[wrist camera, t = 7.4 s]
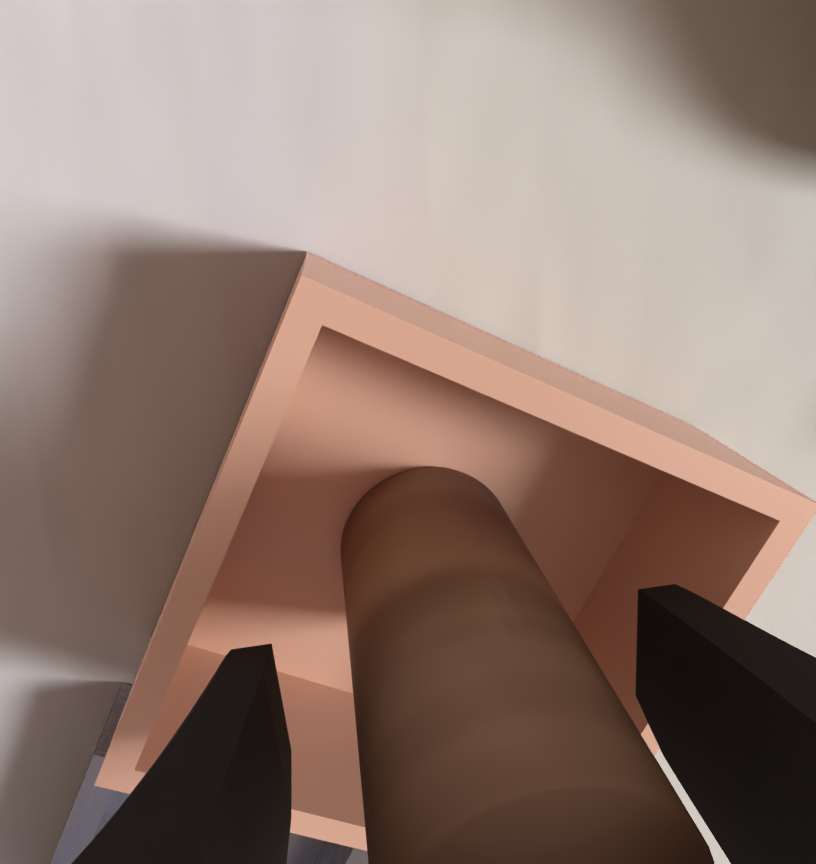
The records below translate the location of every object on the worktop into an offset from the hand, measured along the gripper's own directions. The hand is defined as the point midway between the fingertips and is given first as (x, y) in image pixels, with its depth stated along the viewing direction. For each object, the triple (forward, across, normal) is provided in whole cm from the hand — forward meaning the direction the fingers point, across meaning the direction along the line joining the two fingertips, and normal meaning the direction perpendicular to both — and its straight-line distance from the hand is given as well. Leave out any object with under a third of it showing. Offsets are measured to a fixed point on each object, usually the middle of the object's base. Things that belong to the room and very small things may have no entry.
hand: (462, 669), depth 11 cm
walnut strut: (+4, 0, 0) cm, 4 cm away
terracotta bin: (+5, 0, 0) cm, 5 cm away
